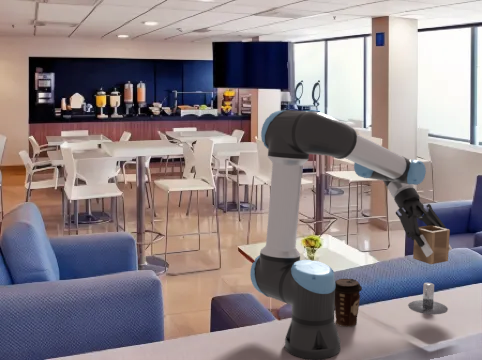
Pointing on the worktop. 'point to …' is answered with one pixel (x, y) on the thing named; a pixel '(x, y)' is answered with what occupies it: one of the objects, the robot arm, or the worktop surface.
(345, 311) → the coffee cup
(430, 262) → the sleeve
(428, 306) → the post stand
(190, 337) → the worktop surface
